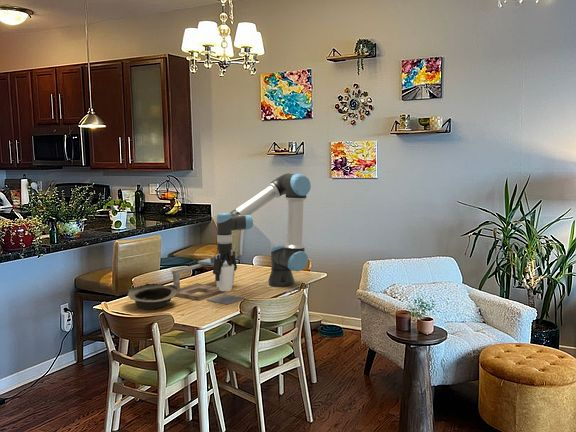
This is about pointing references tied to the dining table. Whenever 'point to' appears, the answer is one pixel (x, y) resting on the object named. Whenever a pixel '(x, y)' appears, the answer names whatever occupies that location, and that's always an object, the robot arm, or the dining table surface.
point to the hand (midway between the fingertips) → (225, 284)
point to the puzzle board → (194, 286)
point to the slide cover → (211, 261)
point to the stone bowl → (152, 295)
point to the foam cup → (226, 277)
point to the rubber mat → (225, 299)
